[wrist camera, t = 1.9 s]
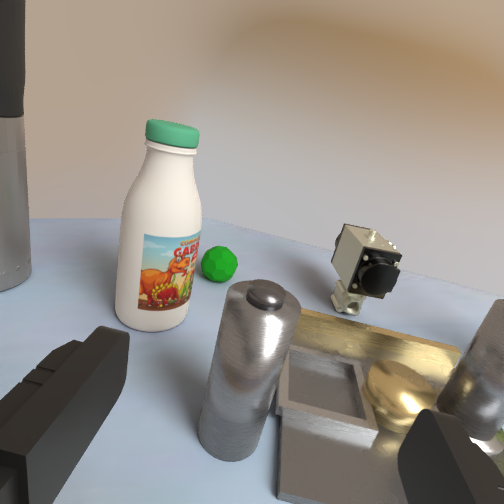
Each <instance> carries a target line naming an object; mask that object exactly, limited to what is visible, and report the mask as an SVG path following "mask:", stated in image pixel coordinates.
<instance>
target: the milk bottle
mask: <svg viewBox="0 0 504 504" xmlns="http://www.w3.org/2000/svg"><path fill="white" fill-rule="evenodd" d="M145 135H146V142H145V145H146V146H147V154H146V157H145V160H144V163H143V166H142V168H141V170H140V172H139V174H138V176H137V177H136V179H135V181H134V182H133V184H132V186H131V187H130V189H129V191H128V194H127V196H126V199H125V202H124V206H123V210H122V218H121V227H120V239H119V252H118V267H117V282H116V298H115V311H116V314H117V316H118V318H119V319H120V320H121V322H122V323H124V324H125V325H126V326H128V327H130V328H133V329H136V330H139V331H144V332H160V331H166V330H169V329H172V328H174V327H176V326H178V325H179V324H180V323H181V322H182V321H183V320H184V318H185V317H186V315H187V311H188V307H189V301H190V295H191V289H192V283H193V277H194V271H195V265H196V259H197V253H198V246H199V240H200V232H201V224H202V209H201V202H200V198H199V194H198V191H197V188H196V184H195V179H194V172H193V157H194V155H195V154H197V152H196V148H197V146H198V142H199V131H198V130H197V129H195V128H193V127H190V126H186V125H182V124H178V123H173V122H168V121H163V120H155V119H152V120H148V121H147V124H146V133H145Z"/></svg>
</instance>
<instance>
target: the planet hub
mask: <svg viewBox="0 0 504 504" xmlns="http://www.w3.org/2000/svg"><path fill="white" fill-rule="evenodd" d="M300 314H301V306H300V303H299V302H298V300H297V299H296V298H295V297H294V296H293V295H292V294H291V293H289V292H288V291H286V290H284V289H283V287H281V286H280V285H278V284H276V283H274V282H272V281H268V280H261V279H259V280H253V281H242V282H238V283H235V284H233V285H232V286H231V287H230V288H229V289H228V291H227V295H226V300H225V304H224V309H223V313H222V318H221V323H220V327H219V332H218V336H217V341H216V346H215V350H214V355H213V359H212V364H211V369H210V373H209V378H208V382H207V387H206V392H205V396H204V401H203V405H202V410H201V415H200V419H199V424H198V437H199V440H200V443H201V445H202V446H203V448H204V449H205V450H206V451H207V452H208V453H209V454H210V455H212V456H213V457H215V458H217V459H219V460H222V461H228V462H235V461H240V460H243V459H245V458H247V457H249V456H250V455H251V454H252V453H253V452H254V451H255V449H256V447H257V445H258V442H259V439H260V436H261V433H262V430H263V427H264V424H265V421H266V418H267V415H268V412H269V409H270V406H271V403H272V399H273V396H274V393H275V390H276V387H277V384H278V381H279V378H280V375H281V372H282V369H283V366H284V363H285V360H286V357H287V354H288V351H289V348H290V345H291V342H292V339H293V336H294V332H295V329H296V326H297V323H298V320H299V317H300Z"/></svg>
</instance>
